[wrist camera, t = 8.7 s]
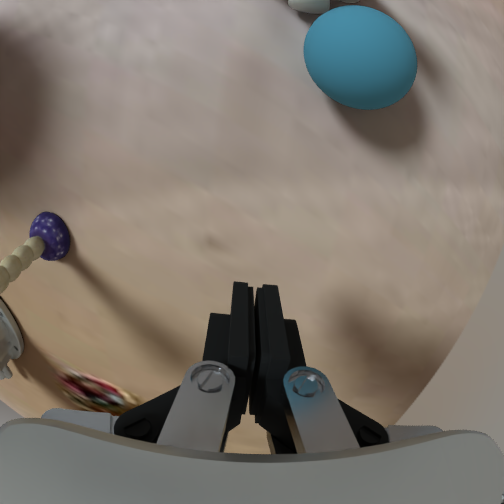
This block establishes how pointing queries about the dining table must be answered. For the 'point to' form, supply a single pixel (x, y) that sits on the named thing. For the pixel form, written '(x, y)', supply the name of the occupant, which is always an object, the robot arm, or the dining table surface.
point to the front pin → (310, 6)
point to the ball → (360, 57)
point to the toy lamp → (36, 247)
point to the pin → (350, 1)
